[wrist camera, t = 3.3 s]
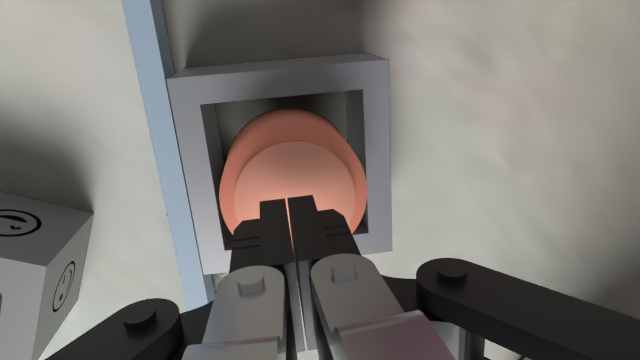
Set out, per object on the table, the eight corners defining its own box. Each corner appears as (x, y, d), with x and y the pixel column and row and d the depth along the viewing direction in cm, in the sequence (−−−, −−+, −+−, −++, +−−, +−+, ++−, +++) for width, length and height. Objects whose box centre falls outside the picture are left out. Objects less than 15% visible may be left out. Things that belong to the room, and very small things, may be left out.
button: (348, 101, 17) (367, 119, 14) (354, 218, 19) (372, 258, 16) (217, 114, 17) (206, 136, 13) (236, 232, 18) (230, 276, 15)
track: (120, -218, 16) (101, -250, 14) (216, 300, 23) (211, 325, 21) (-283, -205, 15) (-363, -239, 13) (-45, 335, 22) (-73, 363, 20)
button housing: (365, 52, 20) (388, 59, 16) (371, 213, 23) (392, 251, 19) (185, 67, 19) (166, 79, 15) (214, 232, 22) (203, 275, 18)
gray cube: (78, 299, 22) (29, 372, 18) (-31, 278, 21) (-113, 350, 17) (94, 212, 21) (46, 266, 16) (-22, 185, 20) (-109, 235, 15)
